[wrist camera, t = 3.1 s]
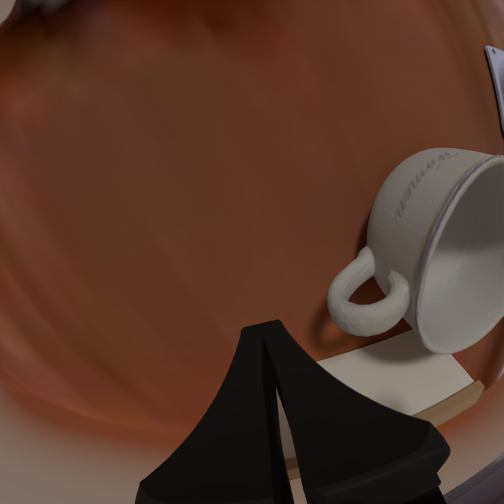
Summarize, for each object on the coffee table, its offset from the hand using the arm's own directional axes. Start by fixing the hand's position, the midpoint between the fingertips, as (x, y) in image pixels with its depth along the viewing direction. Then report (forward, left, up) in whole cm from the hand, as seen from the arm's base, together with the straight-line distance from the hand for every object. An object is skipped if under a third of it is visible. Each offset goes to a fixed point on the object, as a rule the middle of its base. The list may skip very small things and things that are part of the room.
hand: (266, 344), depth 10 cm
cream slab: (-5, +10, -8) cm, 14 cm away
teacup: (-10, 0, -8) cm, 13 cm away
